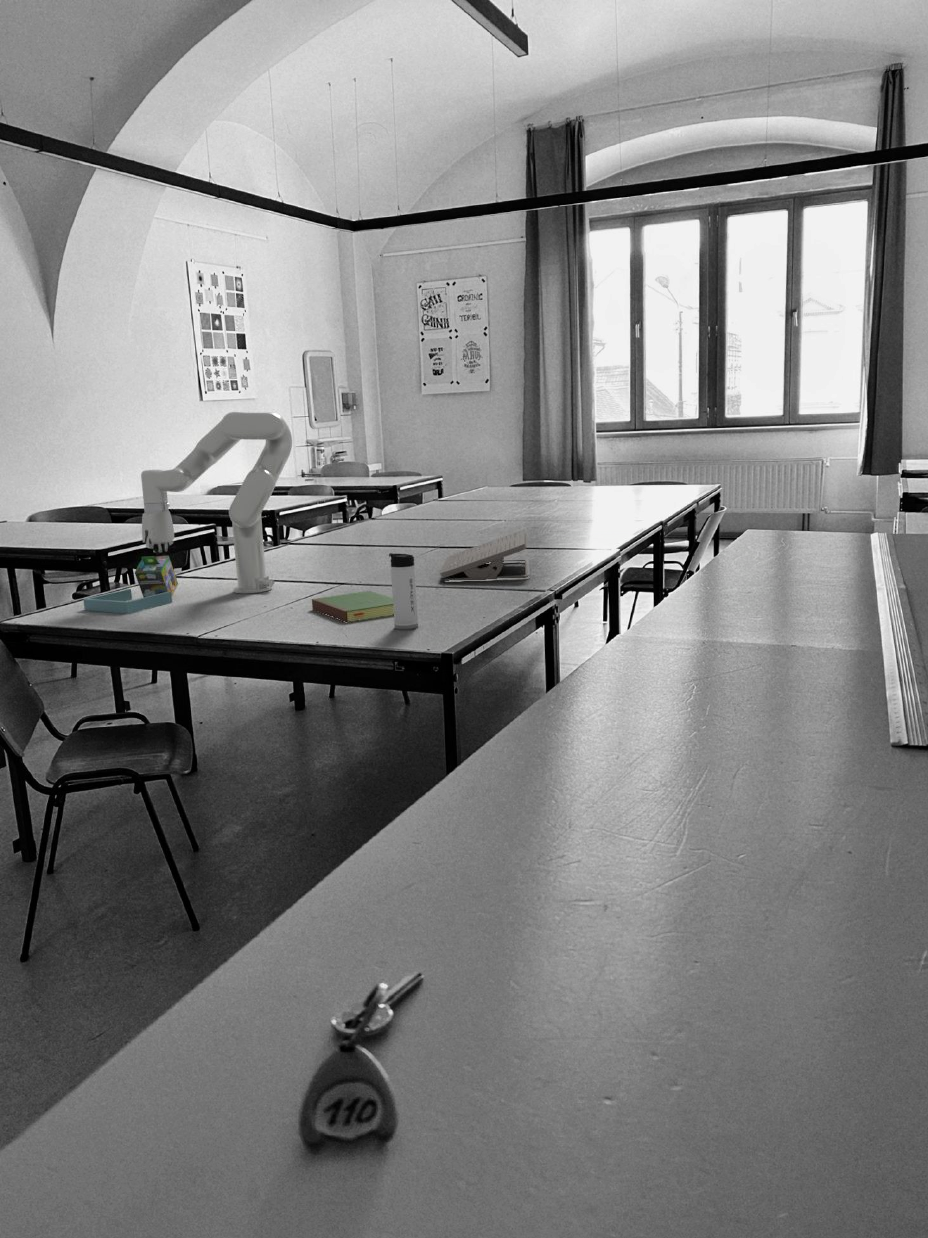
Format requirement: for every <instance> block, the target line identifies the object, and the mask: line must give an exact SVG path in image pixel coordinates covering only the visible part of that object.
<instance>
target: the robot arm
mask: <svg viewBox="0 0 928 1238" xmlns="http://www.w3.org/2000/svg"><path fill="white" fill-rule="evenodd" d="M241 440H247V441H248V440H253V441H255V440H259V441H260V440H264V441H265V444H264V447H263V449H262V451H261V453H260V455H259V456H258V458H257V460H256V462H255V464H254V466H253V467H252V469H251V470H250V471H249V472H248V473H247V474H246V476H245V478H244V480H243V482H242V484H241V486H240V487H239V489H238V491H237V493H236V495H235V497H234V498H233V500H232V502H231V504H230V506H229V507H228V516H229V518H230V521H231V522H232V524H231V525H232V536H233V547H234V557H235V558H234V559H235V567H236V570H235V571H236V578H237V579H236V581H237V586H235V587H234V588H233V592H234V593H237V594H257V593H263V592H268V591H271V590H272V588H273V585H275V582H276V581H275V580H274V579H273V580H272V579H270V577H269V575H267V572H266V561H265V547H264V537H263V523H262V512H263V510H264V508H265V507H266V505H267V503H268V502H269V500H270V498H271V496H272V494H273V492H274V489H275V488H276V484H277V481H278V479H279V477H280V476H281V473H282V471H283V470H284V467H285V465H286V464H287V461H288V459H289V457H290V455H291V452H292V447H293V436H292V432H291V430H290V427H289V425H288V424H287V422H286V421H285V419H284V418H283V417H282V416H281V415H279V413H276V412H242V411H241V412H239V411H231V412H228V413H226V414H225V415H224V416H223V417H222V419H221V420H220V421H219V422H218V423H217V424H216V425H215V426H214V427H212V429H210V431H208V433H206V434H205V435H204V436H203V437H201V439H200V440H199V441H198V442H197V443H196V445H195V447H194V448H193V450H192V451H190V453H189V454H188V455H187V456H186V457H185V458H184V459H183V460H182V461H181V462H180V463H179V464H177V465H176V466H175V467H174V468H172V469H167V470H165V469H164V470H162V469H148V470H147V469H146V470H143V471H142V472H141V475H140V480H141V488H142V490H141V491H142V499H143V508H144V509H143V510H144V513H142V517H141V519H142V520H141V535H142V537H141V538H142V539H141V540H142V543H144V544H145V547H146V548H148V549H151V550H153V553H155V556H167V552H168V549H169V547H170V546H171V545H173V544H174V539H175V528H174V524H173V519H172V515H171V512H170V511H169V508H170V506H171V505H170V503H169V501H168V492H170V493H171V492H172V493H181V492H184V491H185V490H186V489H188V488H189V487H190V486H192V485H193V483H195V482H196V481H197V480H198V479H199V478H200V477H201V476H202V475H203V474H204V473H205V472H206V471H208V469H210V468H211V467H212V466H213V465H215V464H216V463H217V462H218V461H220V460H221V458H223V457H225V455H226V454H227V453H228V452H229V451H230V450H231V449H233V447H235V446H236V445H237V444H238V443H239V442H240V441H241Z"/></svg>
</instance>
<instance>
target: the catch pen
mask: <svg viewBox="0 0 928 1238" xmlns="http://www.w3.org/2000/svg"><path fill="white" fill-rule="evenodd" d="M131 599H132V600H131ZM127 600H128V601H127ZM171 602H172V603H173V595H171V592H164V593H160V594H156V595H152V596H148V597H141V598H136V599H133V595H132V589H131V588H127V589H123V590H117V591H114V592H113V591H112V592H109V593H104V594H100V595H96V596H95V595H94V596H91V597H86V598H83V605H84V606H83V607H84V608H83V609H84V611H91V612H104V613H116V614H126V615H127V614H132V613H136V611H137V612H141V611H144V610H143V609H145V610H148V609H152V608H151V607H153V608H156V606H157V607H159V606H165V605H167V604H172V603H171Z"/></svg>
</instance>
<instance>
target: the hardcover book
mask: <svg viewBox="0 0 928 1238" xmlns="http://www.w3.org/2000/svg"><path fill="white" fill-rule="evenodd" d="M311 604H312V605H311V607H312V608H311V609H312V610H313V609H314V610H316V611H315V612H317V611H319V612H321V613H320V614H322V613H324V614H323V615H325V614H327V615H329V616H328V617H330V616H333V617H334V618H333V619H335V618H338V619H340V620H342V621H341V622H343V621H345V622H348V621H353V622H356V621H355V620H359V619H365V620H369V619H368V618H372V619H377V618H376V617H378V618H381V617H380V616H384V617H388V616H387V615H390V616H392V615H391V614H394V609H393V597H391V596H387V595H383V594H380V593H377V592H373V591H371V590H366V591H360V592H352V593H344V594H338V595H331V596H324V597H320V598H319V597H317V598H312V599H311ZM314 610H313V611H314ZM319 612H318V613H319ZM327 615H326V616H327ZM338 619H337V620H338ZM340 620H339V621H340ZM359 621H360V620H359ZM345 622H344V623H345ZM348 623H349V622H348Z"/></svg>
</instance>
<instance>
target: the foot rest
mask: <svg viewBox="0 0 928 1238" xmlns="http://www.w3.org/2000/svg"><path fill="white" fill-rule="evenodd" d="M526 549H527V534H526V532H525V530H518V531H515V532H513V533H510V534H507V535H505V536H504V535H503V536H502V537H500V538H497V539H493V540H491V541H488V542H484V543H482V544H479V545H476V546H474V547H471V548H468V549H465V550H462V551H459V552H456V553H453V554H451V555H449V556H446V559H445V561H444V563H443V565H442V567H441V570H440V571H439V575H440V577H441V579H443V582H444V581H449V580H486V579H497V578H526V577H528V576H530V577H531V570H530V569H531V568H530V559H527V558H526V559H525V558H524V559H523V558H519V559H504V558H505V557H508V556H511V555H513V554H516V553H520V552H521V551H524V550H526ZM504 561H525V564H524V567H525V568H524V571H525V573H524V574H521V575H499V574H500V572H501V571H502V568H503V567H504V564H503V562H504ZM489 562H491V563H490V564H489V565H486V566H484V565H483V564H486V563H489ZM480 566H484V567H480ZM494 567H496V569H495V568H494ZM462 572H463V573H464V574H465V575H466V576H467V577H451V576H455V575H457V574H460V573H462ZM498 575H499V576H498Z"/></svg>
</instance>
